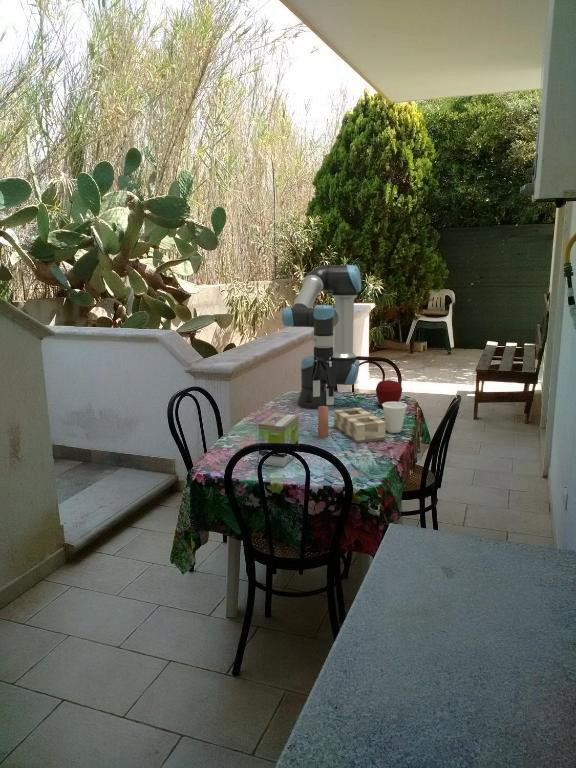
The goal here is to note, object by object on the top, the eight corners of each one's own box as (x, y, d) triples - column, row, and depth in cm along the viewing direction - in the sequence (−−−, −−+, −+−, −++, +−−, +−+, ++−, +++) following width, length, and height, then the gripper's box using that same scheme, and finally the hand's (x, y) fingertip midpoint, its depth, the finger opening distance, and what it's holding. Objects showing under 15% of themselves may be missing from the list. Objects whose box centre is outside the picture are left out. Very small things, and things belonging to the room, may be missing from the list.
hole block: (333, 426, 243) (333, 410, 242) (359, 423, 247) (360, 407, 245) (357, 443, 223) (357, 425, 221) (385, 439, 227) (385, 422, 225)
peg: (316, 435, 232) (316, 406, 230) (325, 434, 234) (325, 405, 231) (320, 438, 229) (320, 409, 226) (329, 437, 230) (329, 408, 227)
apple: (374, 409, 268) (375, 381, 265) (376, 403, 279) (377, 375, 276) (401, 410, 265) (402, 382, 262) (402, 404, 276) (403, 376, 273)
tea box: (285, 467, 199) (285, 426, 196) (258, 464, 202) (257, 423, 199) (299, 453, 213) (298, 414, 210) (273, 450, 216) (272, 411, 213)
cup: (378, 433, 234) (379, 406, 232) (384, 426, 243) (385, 400, 241) (403, 436, 231) (404, 409, 228) (408, 428, 240) (409, 402, 237)
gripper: (302, 342, 233) (302, 394, 238) (327, 351, 210) (326, 409, 215) (320, 341, 235) (319, 392, 240) (346, 350, 212) (345, 407, 217)
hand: (323, 400), depth 227 cm, fingers open, 13 cm apart
